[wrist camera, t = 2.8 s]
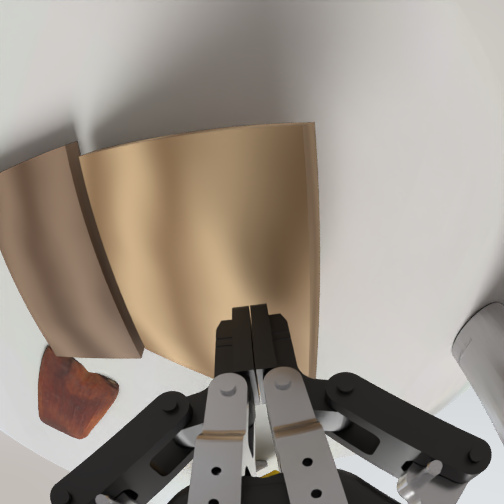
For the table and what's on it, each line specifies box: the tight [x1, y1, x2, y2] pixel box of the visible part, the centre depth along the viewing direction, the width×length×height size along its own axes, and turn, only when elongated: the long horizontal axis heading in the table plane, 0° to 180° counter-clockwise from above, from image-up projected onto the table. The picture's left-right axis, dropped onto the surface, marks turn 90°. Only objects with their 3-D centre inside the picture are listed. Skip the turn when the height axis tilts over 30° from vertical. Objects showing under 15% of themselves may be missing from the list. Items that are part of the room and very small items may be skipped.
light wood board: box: [79, 122, 320, 395], centre depth 16 cm, size 14×16×2 cm
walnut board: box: [0, 141, 145, 358], centre depth 20 cm, size 10×18×2 cm, turn 7°
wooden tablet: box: [38, 346, 119, 439], centre depth 30 cm, size 27×10×2 cm, turn 143°
